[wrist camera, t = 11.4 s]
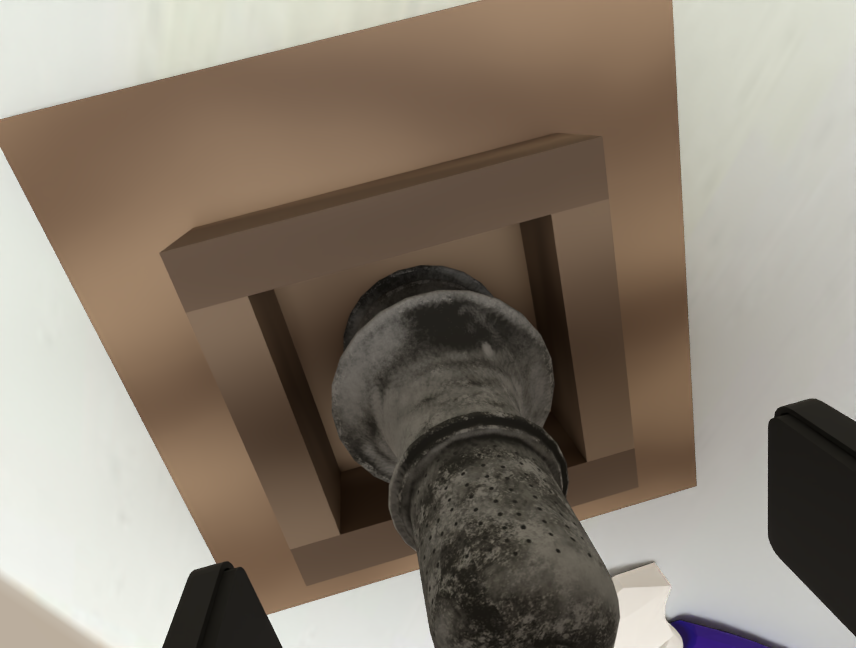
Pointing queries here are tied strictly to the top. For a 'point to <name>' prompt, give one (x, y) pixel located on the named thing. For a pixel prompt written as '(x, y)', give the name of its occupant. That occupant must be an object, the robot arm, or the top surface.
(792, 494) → the robot arm
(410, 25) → the walnut holder
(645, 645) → the spray bottle
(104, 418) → the top surface
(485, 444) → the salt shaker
